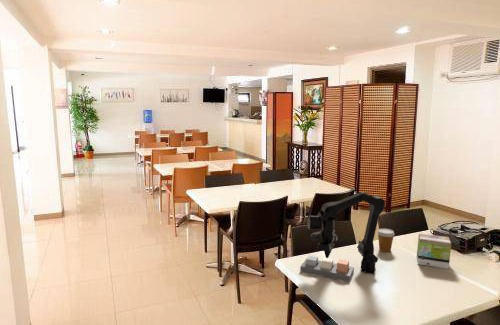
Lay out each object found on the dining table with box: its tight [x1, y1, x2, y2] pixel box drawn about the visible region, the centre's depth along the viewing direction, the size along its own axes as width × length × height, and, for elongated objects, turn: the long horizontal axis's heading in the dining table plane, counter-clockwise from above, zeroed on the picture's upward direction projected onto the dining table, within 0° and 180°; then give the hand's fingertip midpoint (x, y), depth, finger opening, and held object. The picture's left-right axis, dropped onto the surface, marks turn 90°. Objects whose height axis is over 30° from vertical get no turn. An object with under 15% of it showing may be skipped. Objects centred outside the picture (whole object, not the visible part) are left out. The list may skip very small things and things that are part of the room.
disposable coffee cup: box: [376, 228, 395, 253], centre depth 208 cm, size 10×10×12 cm
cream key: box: [320, 257, 334, 270], centre depth 180 cm, size 5×5×5 cm
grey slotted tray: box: [299, 259, 355, 283], centre depth 180 cm, size 25×11×3 cm, turn 64°
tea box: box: [416, 233, 452, 270], centre depth 189 cm, size 15×10×15 cm
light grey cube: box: [305, 255, 319, 267], centre depth 184 cm, size 5×5×5 cm
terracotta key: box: [336, 258, 350, 273], centre depth 176 cm, size 5×5×5 cm
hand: (327, 257), depth 179 cm, fingers closed
